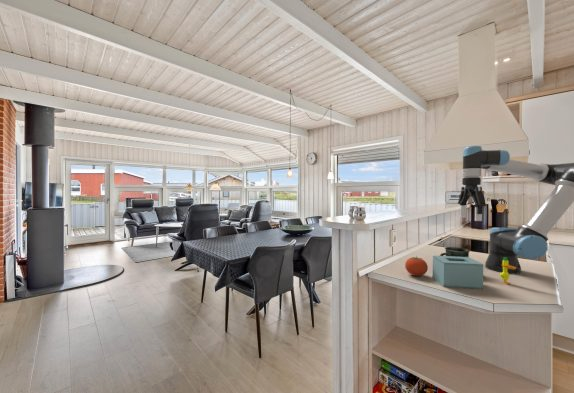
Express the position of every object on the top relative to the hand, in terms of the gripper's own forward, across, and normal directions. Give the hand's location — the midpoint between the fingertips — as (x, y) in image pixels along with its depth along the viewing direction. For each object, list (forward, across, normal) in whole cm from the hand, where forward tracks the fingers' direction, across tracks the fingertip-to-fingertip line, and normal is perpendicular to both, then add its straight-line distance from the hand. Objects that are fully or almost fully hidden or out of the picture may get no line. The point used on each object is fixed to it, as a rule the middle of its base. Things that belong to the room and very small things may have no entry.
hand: (470, 219), depth 129 cm
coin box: (+29, +13, -12) cm, 34 cm away
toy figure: (+29, +10, +11) cm, 32 cm away
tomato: (+29, +5, -27) cm, 40 cm away
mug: (+29, -5, -5) cm, 30 cm away
